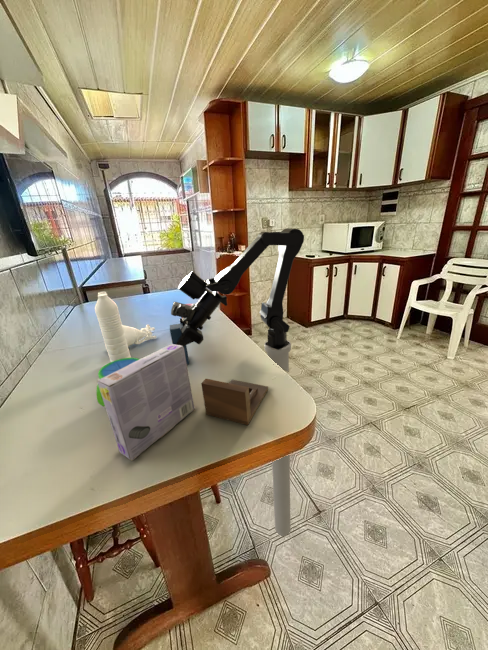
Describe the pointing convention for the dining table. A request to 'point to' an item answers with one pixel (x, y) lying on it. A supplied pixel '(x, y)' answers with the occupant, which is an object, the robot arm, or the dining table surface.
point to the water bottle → (111, 327)
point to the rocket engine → (137, 334)
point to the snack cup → (111, 369)
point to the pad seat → (232, 399)
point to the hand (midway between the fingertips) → (175, 345)
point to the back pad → (176, 334)
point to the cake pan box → (147, 399)
